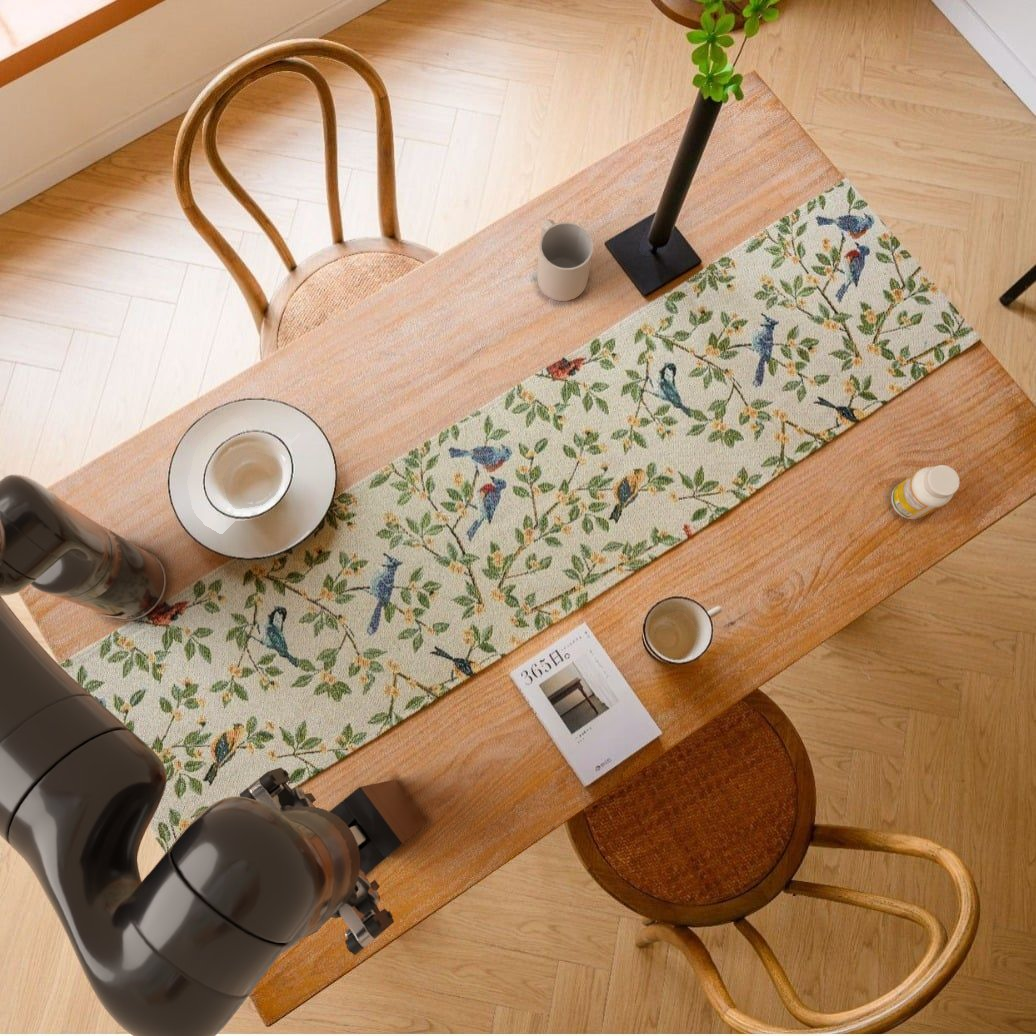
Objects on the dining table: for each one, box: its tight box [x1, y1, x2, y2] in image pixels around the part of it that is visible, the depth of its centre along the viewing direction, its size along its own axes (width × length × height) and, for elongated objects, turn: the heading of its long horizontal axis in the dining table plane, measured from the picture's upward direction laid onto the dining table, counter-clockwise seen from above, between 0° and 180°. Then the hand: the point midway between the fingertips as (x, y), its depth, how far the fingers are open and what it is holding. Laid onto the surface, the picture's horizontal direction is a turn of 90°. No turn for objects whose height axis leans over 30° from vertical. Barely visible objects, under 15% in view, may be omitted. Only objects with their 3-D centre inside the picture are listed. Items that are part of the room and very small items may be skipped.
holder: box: [329, 779, 428, 875], centre depth 97 cm, size 6×6×30 cm
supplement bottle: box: [890, 464, 961, 520], centre depth 118 cm, size 5×5×10 cm
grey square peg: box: [350, 824, 369, 847], centre depth 82 cm, size 2×2×10 cm
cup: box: [536, 218, 594, 302], centre depth 126 cm, size 7×10×9 cm
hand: (334, 847), depth 73 cm, fingers open, 8 cm apart
